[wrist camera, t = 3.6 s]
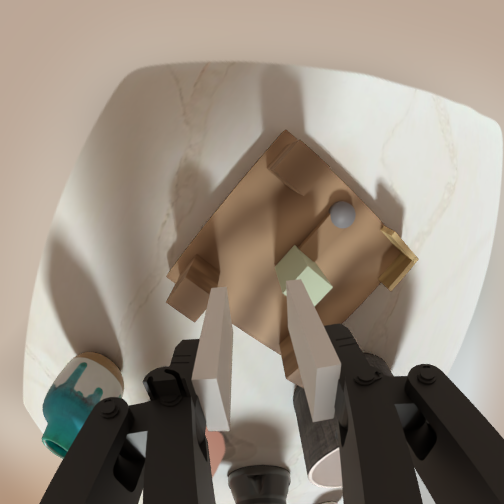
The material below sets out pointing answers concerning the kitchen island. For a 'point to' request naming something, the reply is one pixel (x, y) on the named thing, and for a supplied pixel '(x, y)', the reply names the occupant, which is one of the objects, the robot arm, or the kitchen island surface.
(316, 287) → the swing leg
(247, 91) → the kitchen island surface
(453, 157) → the kitchen island surface
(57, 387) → the vase
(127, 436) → the robot arm
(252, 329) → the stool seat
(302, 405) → the planter
